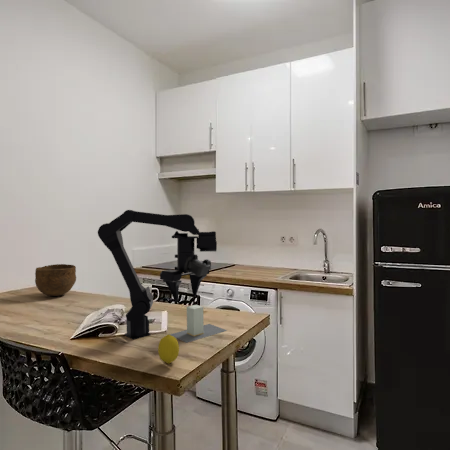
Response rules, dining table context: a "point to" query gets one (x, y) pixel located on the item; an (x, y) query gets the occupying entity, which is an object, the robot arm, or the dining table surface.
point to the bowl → (55, 279)
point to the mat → (208, 331)
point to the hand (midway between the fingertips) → (185, 298)
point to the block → (195, 320)
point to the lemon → (168, 349)
